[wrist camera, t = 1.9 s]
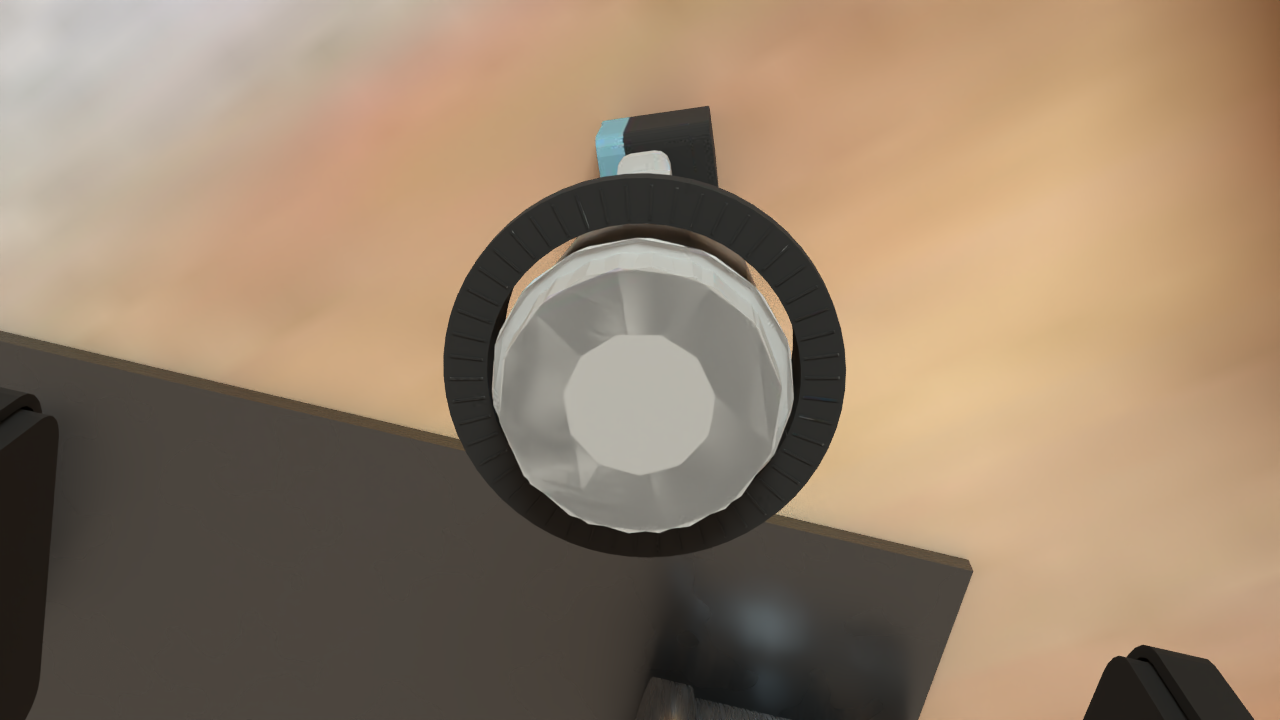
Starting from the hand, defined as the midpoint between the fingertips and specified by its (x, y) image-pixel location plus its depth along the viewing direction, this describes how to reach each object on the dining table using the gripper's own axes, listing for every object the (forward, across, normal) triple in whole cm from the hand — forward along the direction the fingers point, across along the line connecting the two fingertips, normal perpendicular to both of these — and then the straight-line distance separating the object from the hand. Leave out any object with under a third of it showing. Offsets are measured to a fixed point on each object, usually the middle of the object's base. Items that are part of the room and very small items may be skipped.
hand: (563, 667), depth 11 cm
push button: (+15, -1, 0) cm, 15 cm away
